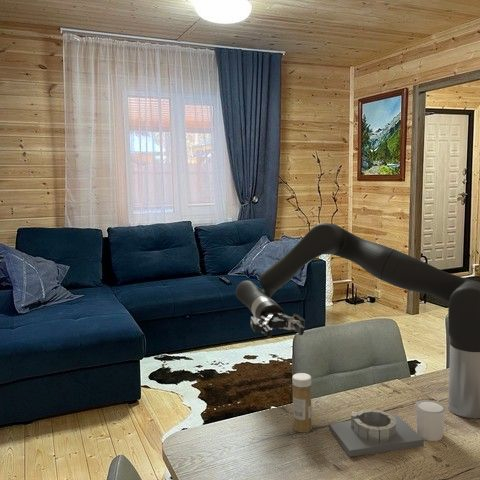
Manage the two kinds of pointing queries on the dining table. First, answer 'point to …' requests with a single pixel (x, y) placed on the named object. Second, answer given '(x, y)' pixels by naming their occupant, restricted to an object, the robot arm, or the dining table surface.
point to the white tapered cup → (430, 419)
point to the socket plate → (362, 447)
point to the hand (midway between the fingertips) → (286, 333)
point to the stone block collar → (372, 432)
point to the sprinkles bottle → (302, 402)
